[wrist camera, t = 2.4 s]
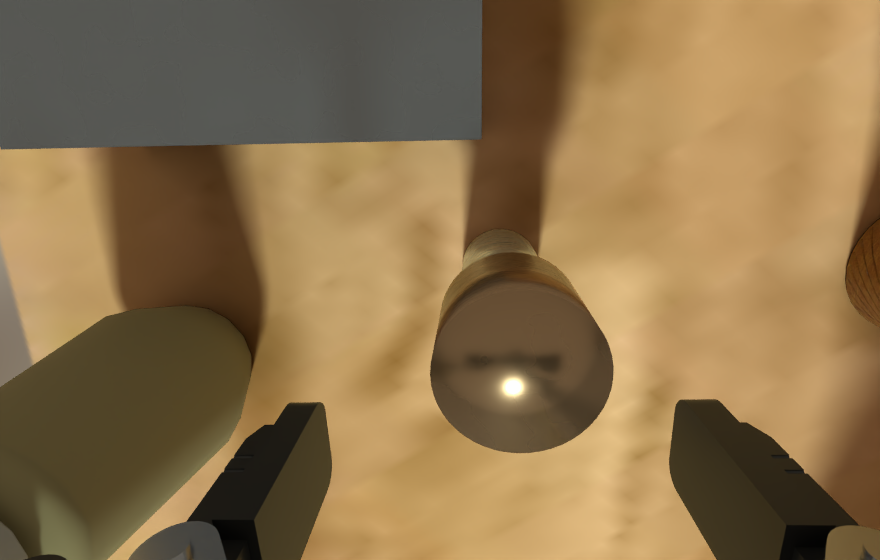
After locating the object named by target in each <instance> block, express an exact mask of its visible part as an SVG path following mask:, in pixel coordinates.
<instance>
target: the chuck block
mask: <svg viewBox="0 0 880 560" xmlns="http://www.w3.org/2000/svg"><path fill="white" fill-rule="evenodd" d="M474 139H482V0H0V147H1V149H41V148H89V147H138V146H186V145H234V144H282V143H330V142H378V141H426V140H474Z"/></svg>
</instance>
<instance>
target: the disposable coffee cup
mask: <svg viewBox="0 0 880 560" xmlns="http://www.w3.org/2000/svg"><path fill="white" fill-rule="evenodd" d="M846 287H847V293H848V295H849V298H850V301H851V303H852V304H853V305H854V307H855V308H856V309H857V311H858V312H859V313H860V314H861V315H862V316H863V317H864V318H866V319H867V320H868V321H870V322H872V323H873V324H875V325H876V326H878V327H879V328H880V219H879V220H877V221H876V222H875V223H874V224H873V225H872V226H871V227H870V228H869V229H868V230H867V231H866V232H865V234H864V235H863V236H862V237H861V239H860V240H859V241H858V243H857V245H856V246H855V248H854V250H853V252H852V254H851V257H850V260H849V263H848V266H847V275H846Z"/></svg>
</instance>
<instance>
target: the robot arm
mask: <svg viewBox="0 0 880 560" xmlns="http://www.w3.org/2000/svg"><path fill="white" fill-rule="evenodd" d="M669 466H670V474H671V478H672V481H673V484H674V487H675V489H676V491H677V493H678V494H679V496H680V498H681V499H682V501H683V503H684V504H685V506H686V508H687V510H688V511H689V513H690V515H691V516H692V518H693V520H694V522H695V523H696V525H697V527H698V528H699V530H700V532H701V534H702V535H703V537H704V539H705V540H706V542H707V544H708V545H709V547H710V549H711V551H712V552H713V554H714V556H715V557H716V559H717V560H880V531H879V530H876V529H872V528H868V527H863V526H859V525H858V524H857V523H856V522H855V521H854V520H853V519H852V518H851V517H850V516H849V515H848V514H847V513H846V512H845V511H844V510H843V509H842V508H841V507H840V506H839V505H838V504H837V503H836V502H835V501H834V500H833V499H832V498H831V497H830V496H829V495H828V494H827V493H826V492H825V491H824V490H823V489H822V488H821V487H820V486H819V485H818V484H817V483H816V482H815V481H814V480H813V479H812V477H811V476H810V475H809V474H805V473H804V469H803V468H802V467H801V466H800V465H799V464H798V463H797V462H796V461H795V460H794V459H793V458H789V454H788V453H787V452H786V451H785V450H784V449H783V448H782V447H781V446H780V445H779V444H778V443H777V442H776V441H775V440H774V439H773V438H772V437H770V436H768V435H767V434H765V433H763V432H762V431H760V430H758V429H757V428H755V427H753V426H751V425H750V424H748V423H740V422H739V421H738V420H737V419H736V418H735V417H734V416H733V415H732V414H731V413H730V412H729V411H728V410H727V409H726V407H725V406H724V405H723V404H722V403H721V402H720V401H718V400H715V399H707V400H679V401H678V402H677V404H676V407H675V414H674V423H673V431H672V440H671V449H670V457H669ZM331 472H332V458H331V450H330V442H329V435H328V427H327V420H326V412H325V408H324V405H323V404H322V403H321V402H313V403H289V404H287V406H286V407H285V409H284V410H283V412H282V413H281V415H280V416H279V418H278V419H277V421H276V422H275V424H274V425H264V426H263V427H261V428H260V429H259V430H257V431H256V432H255V433H253V434H252V435H250V436H249V437H248V438H246V440H245V441H244V442H243V444H242V445H241V447H240V448H239V449H238V451H237V452H236V453H235V455H234V458H232V459H231V460H230V462H229V463H228V465H227V466H226V467H225V470H224V472H222V473H221V474H220V476H219V477H218V478H217V480H216V481H215V483H214V484H213V485H212V487H211V488H210V490H209V491H208V492H207V494H206V495H205V497H204V498H203V499H202V501H201V502H200V504H199V505H198V506H197V508H196V509H195V510H194V512H193V513H192V515H191V516H190V517H189V519H188V520H187V522H184V523H180V524H176V525H173V526H171V527H168V528H166V529H164V530H162V531H160V532H158V533H157V534H155V535H153V536H152V537H150V538H149V539H147V540H146V541H145V542H144V543H143V544H141V545H140V546H139V547H138V548H137V549H136V550H135V551H134V552H133V554H132V555H131V556H130V558H129V559H128V560H301V557H302V554H303V552H304V549H305V547H306V544H307V542H308V539H309V536H310V534H311V531H312V529H313V526H314V524H315V521H316V518H317V516H318V513H319V511H320V508H321V506H322V503H323V500H324V498H325V495H326V493H327V490H328V487H329V484H330V479H331ZM25 560H67V559H66V558H64V557H62V556H60V555H55V554H47V555H39V556H35V557H31V558H28V559H25Z"/></svg>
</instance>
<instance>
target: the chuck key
mask: <svg viewBox="0 0 880 560" xmlns="http://www.w3.org/2000/svg"><path fill="white" fill-rule="evenodd" d="M430 377H431V386H432V390H433V394H434V397H435V399H436V402H437V404H438V406H439V408H440V410H441V411H442V413H443V415H444V416H445V417H446V419H447V420H448V421H449V422H450V423H451V424H452V425H453V426H454V427H455V428H456V429H457V430H458V431H459V432H460V433H462V434H463V435H464V436H466V437H467V438H469V439H471V440H472V441H474V442H476V443H478V444H480V445H482V446H485V447H488V448H491V449H494V450H498V451H503V452H511V453H531V452H539V451H543V450H547V449H551V448H554V447H557V446H559V445H562V444H564V443H566V442H568V441H570V440H572V439H573V438H575V437H576V436H578V435H579V434H581V433H582V432H583V431H584V430H585V429H587V428H588V427H589V426H590V425H591V424H592V423H593V421H594V420H595V419H596V418H597V417H598V415H599V414H600V412H601V411H602V409H603V408H604V406H605V404H606V402H607V400H608V397H609V394H610V391H611V387H612V381H613V360H612V355H611V351H610V348H609V345H608V342H607V340H606V338H605V336H604V334H603V333H602V331H601V329H600V328H599V326H598V325H597V323H596V322H595V320H594V318H593V317H592V315H591V314H590V312H589V311H588V309H587V307H586V306H585V304H584V303H583V301H582V300H581V298H580V297H579V295H578V293H577V292H576V290H575V289H574V287H573V286H572V284H571V282H570V281H569V279H568V278H567V277H566V276H565V275H564V274H563V273H562V272H561V271H560V270H559V269H558V268H557V267H556V266H554V265H553V264H551V263H549V262H548V261H546V260H544V259H542V258H540V257H538V256H537V254H536V252H535V250H534V249H533V247H532V245H531V244H530V243H529V241H528V240H527V239H526V238H524V237H523V236H522V235H520V234H518V233H516V232H514V231H511V230H506V229H495V230H490V231H487V232H485V233H483V234H481V235H479V236H478V237H477V238H475V239H474V240H473V241H472V242H471V244H470V245H469V246H468V248H467V250H466V252H465V255H464V259H463V267H462V272H460V274H459V275H458V276H457V277H456V278H455V279H454V280H453V282H452V283H451V285H450V286H449V288H448V290H447V292H446V294H445V297H444V300H443V303H442V308H441V313H440V319H439V324H438V329H437V334H436V340H435V345H434V350H433V355H432V361H431V370H430Z"/></svg>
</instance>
